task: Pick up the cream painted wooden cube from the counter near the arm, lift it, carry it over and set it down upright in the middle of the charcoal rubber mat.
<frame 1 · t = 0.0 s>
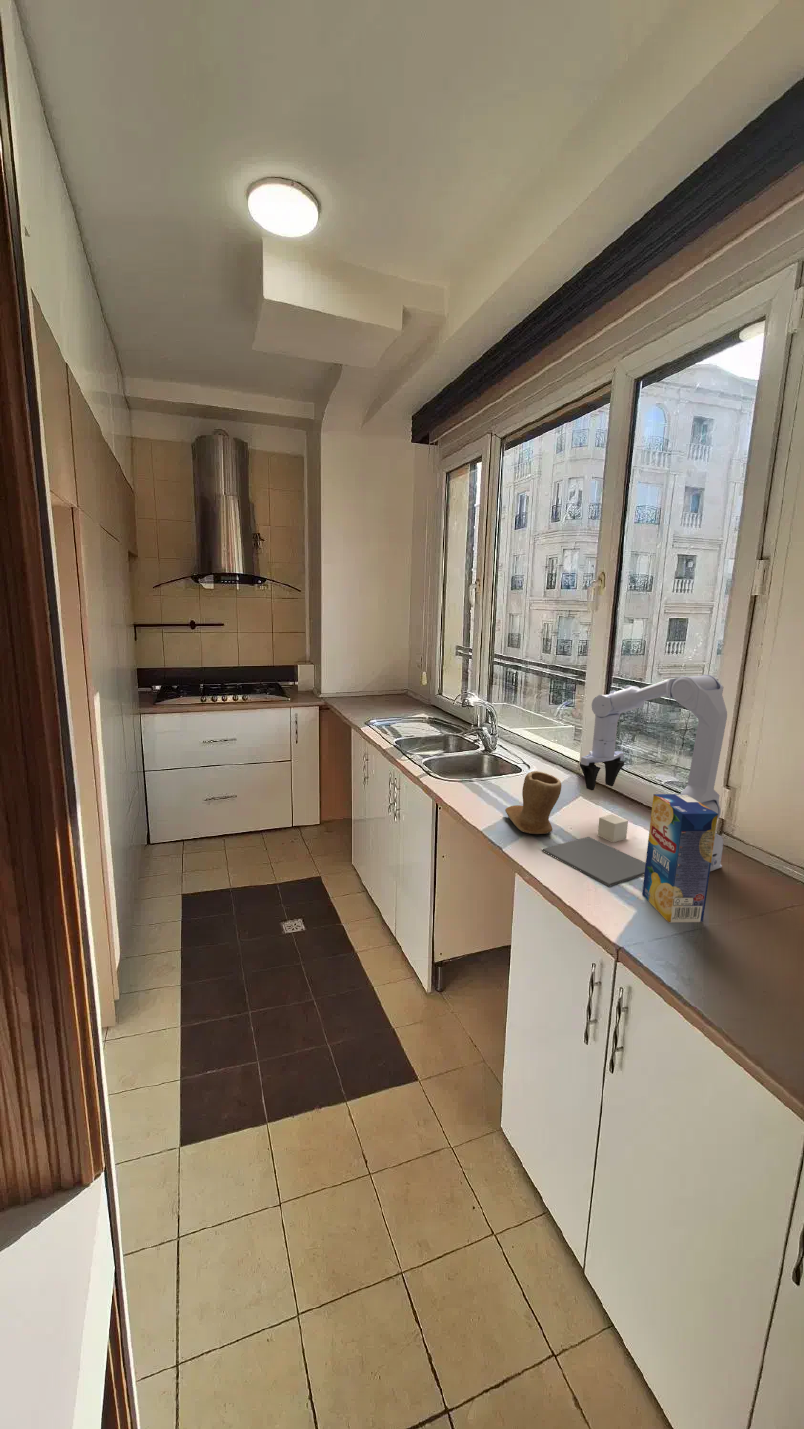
hand: (599, 787, 160), 10 cm above the countertop, tool pointing down, fingers open, 7 cm apart
charcoal mat: (597, 860, 138), on the countertop
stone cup: (532, 827, 158), on the countertop
beverage box: (671, 908, 118), on the countertop
cream cube: (611, 837, 152), on the countertop
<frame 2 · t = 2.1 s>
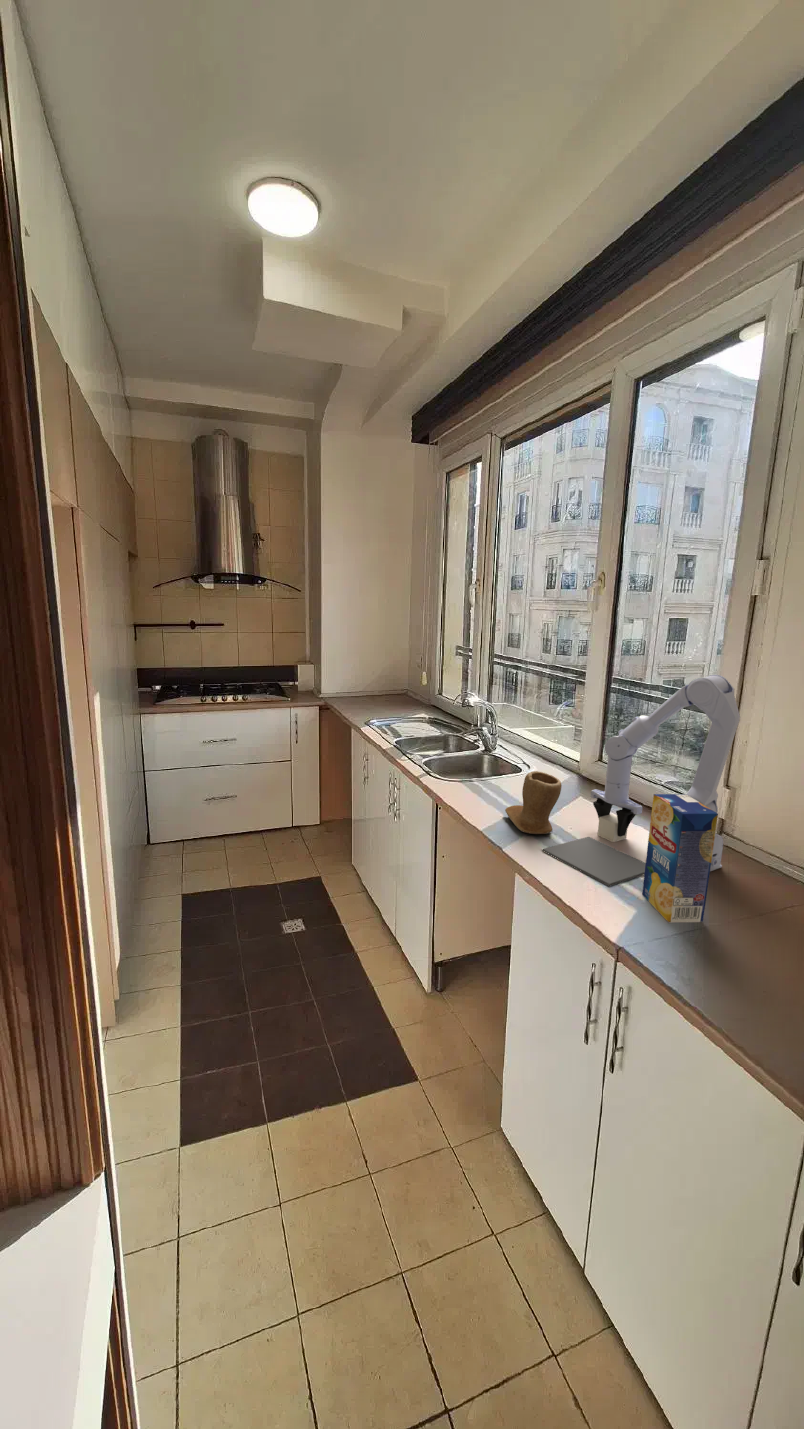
hand: (612, 831, 152), 1 cm above the countertop, tool pointing down, fingers closed on cream cube, 5 cm apart
cream cube: (611, 836, 152), on the countertop, touching gripper
everything else where it was.
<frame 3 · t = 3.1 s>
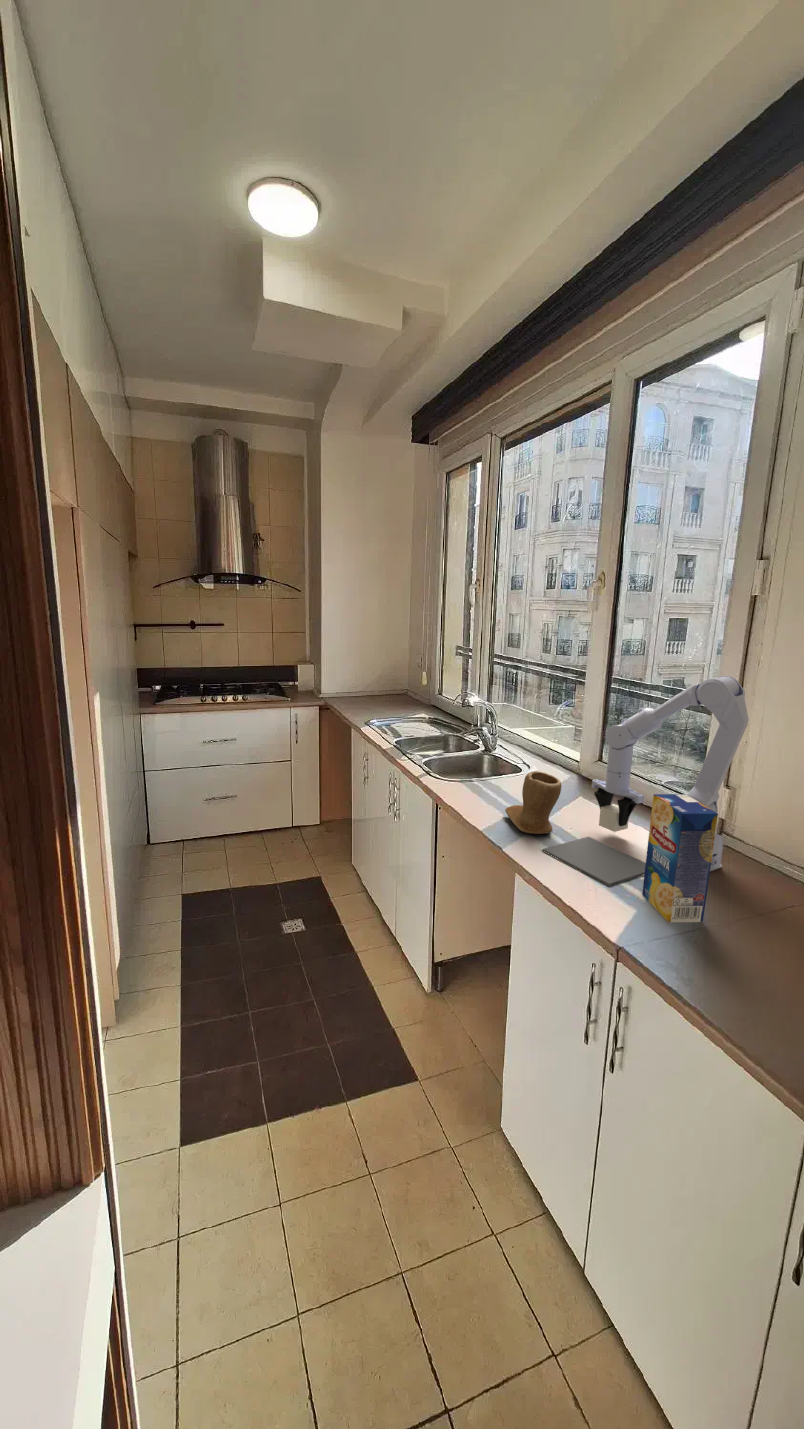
hand: (613, 821, 151), 4 cm above the countertop, tool pointing down, fingers closed on cream cube, 5 cm apart
cream cube: (613, 826, 152), point 3 cm above the countertop, touching gripper
everything else where it was.
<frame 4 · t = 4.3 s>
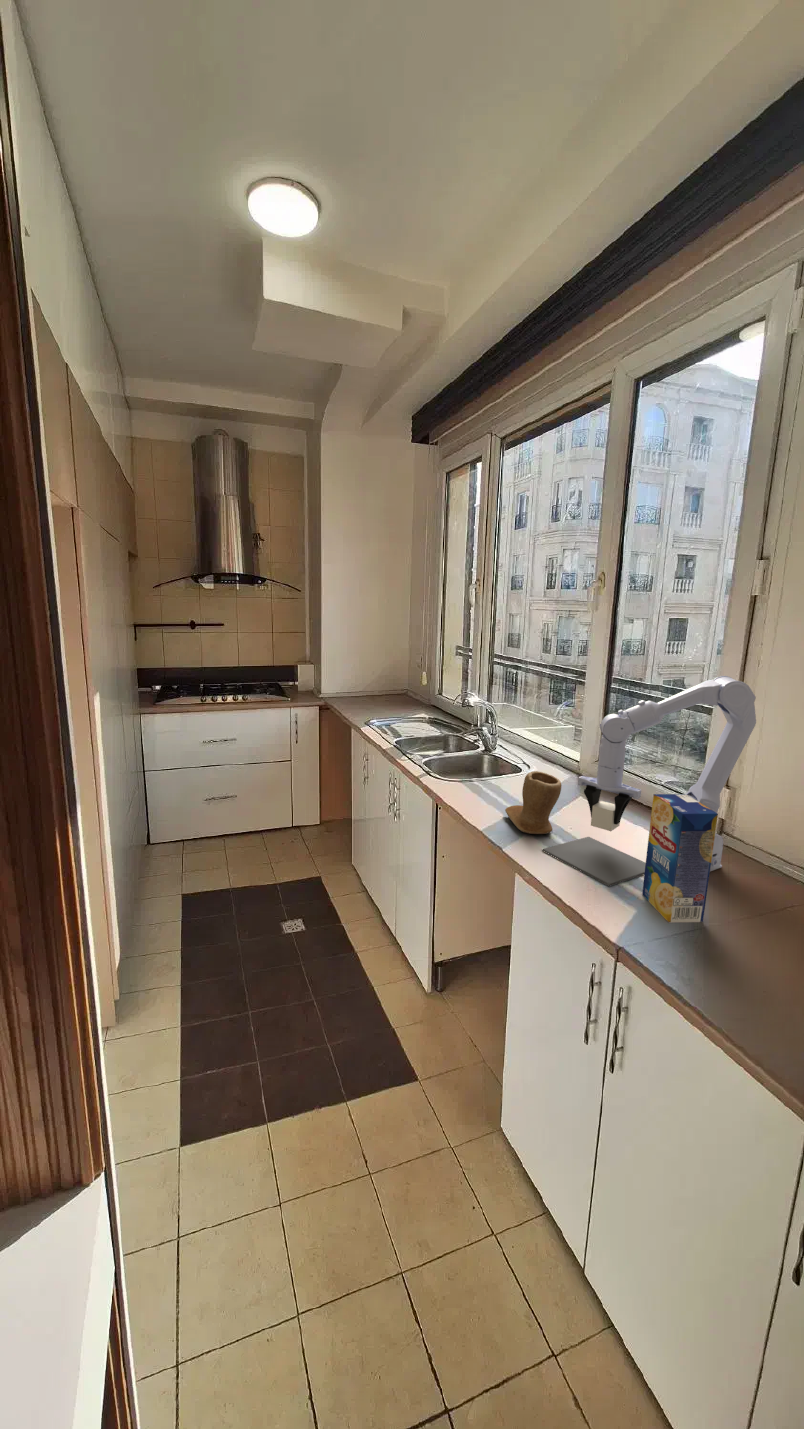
hand: (605, 819, 141), 8 cm above the countertop, tool pointing down, fingers closed on cream cube, 5 cm apart
cream cube: (605, 825, 141), point 7 cm above the countertop, touching gripper
everything else where it was.
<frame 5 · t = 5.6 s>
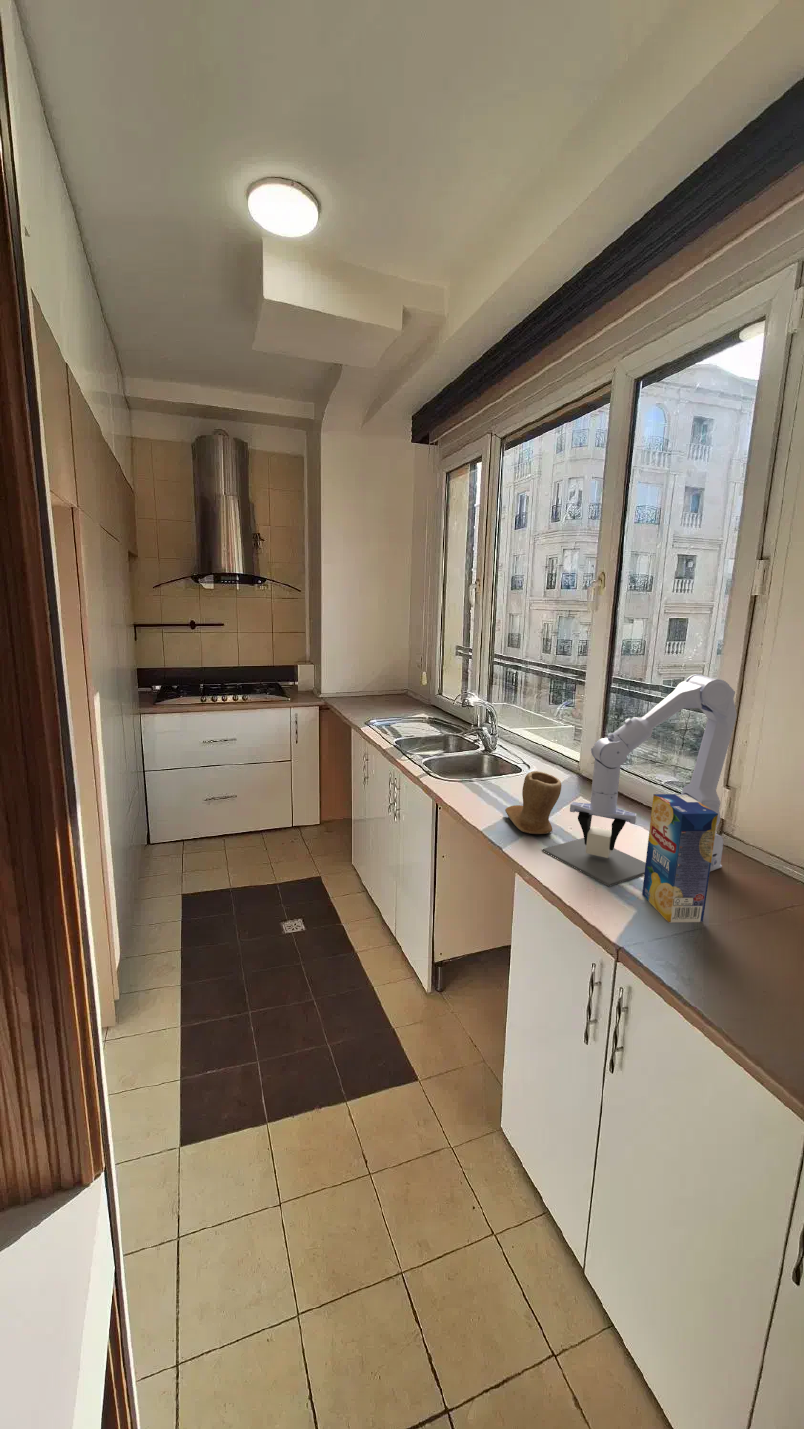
hand: (599, 845, 137), 4 cm above the countertop, tool pointing down, fingers closed on cream cube, 5 cm apart
cream cube: (598, 851, 138), point 2 cm above the countertop, touching gripper
everything else where it was.
when the fingers open (4 cm above the countertop, at t = 6.5 s): cream cube drops 1 cm, resting on charcoal mat.
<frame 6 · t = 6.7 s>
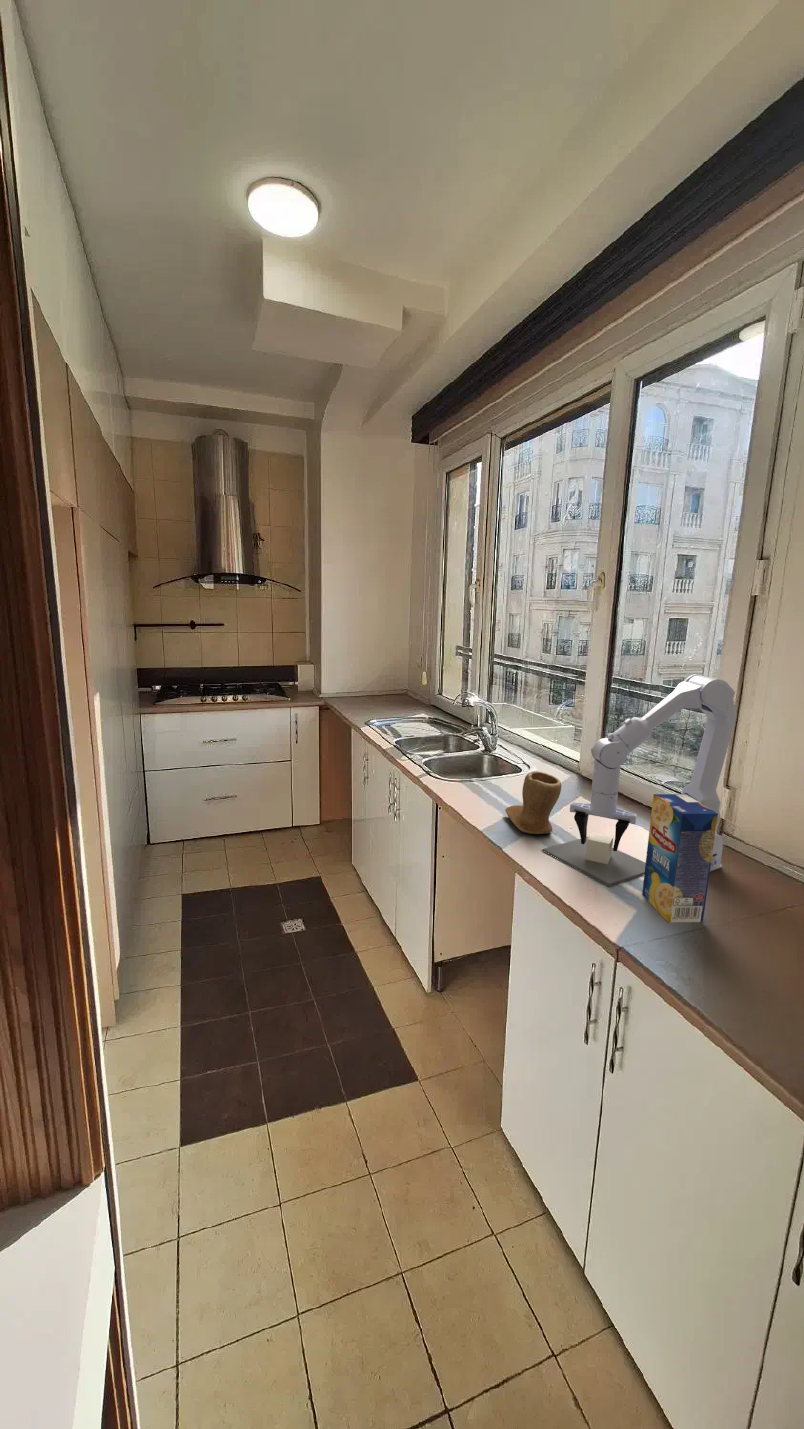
hand: (599, 846, 137), 4 cm above the countertop, tool pointing down, fingers open, 7 cm apart
cream cube: (598, 857, 138), point 1 cm above the countertop, touching charcoal mat
everything else where it was.
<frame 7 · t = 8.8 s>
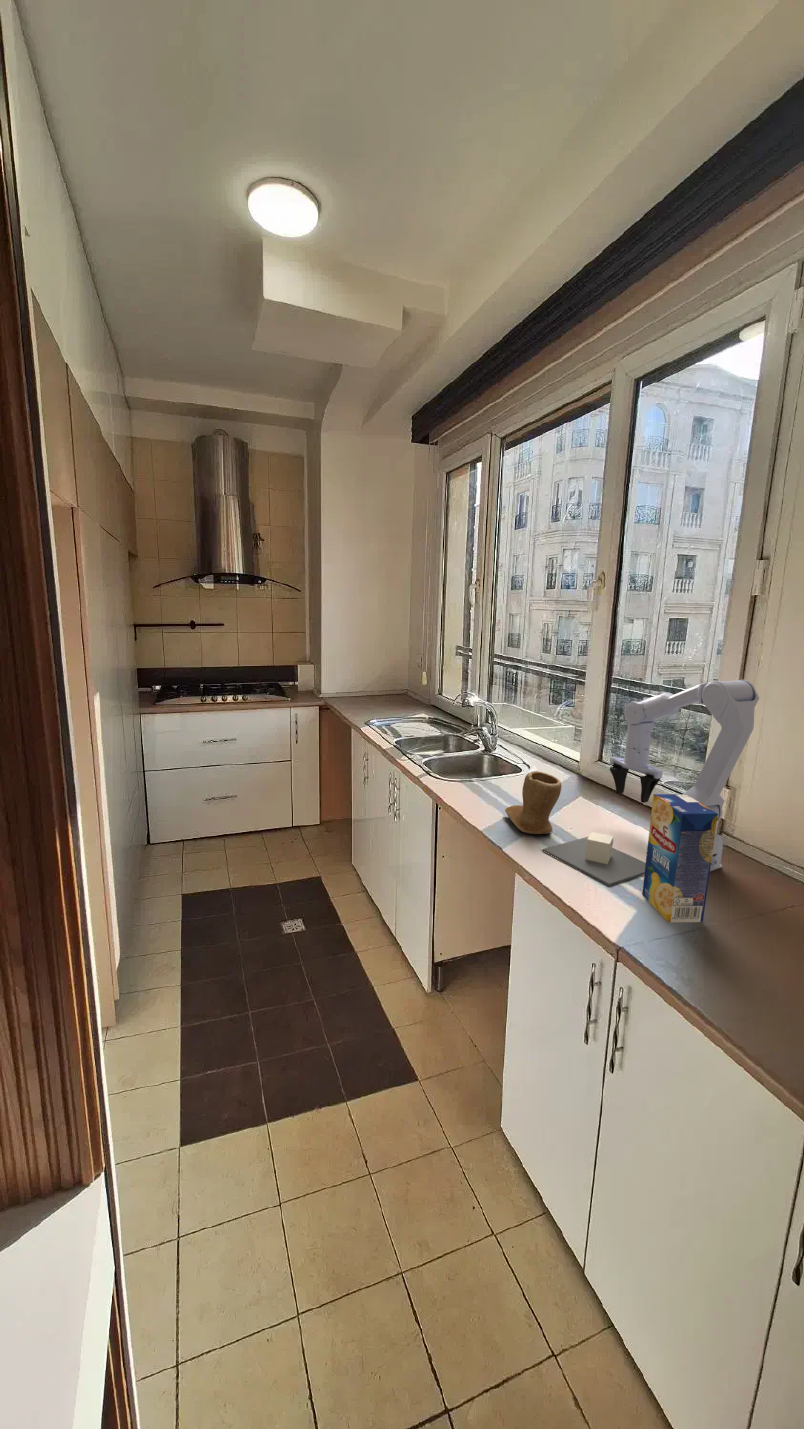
hand: (631, 797, 154), 9 cm above the countertop, tool pointing down, fingers open, 7 cm apart
nothing on the countertop moved.
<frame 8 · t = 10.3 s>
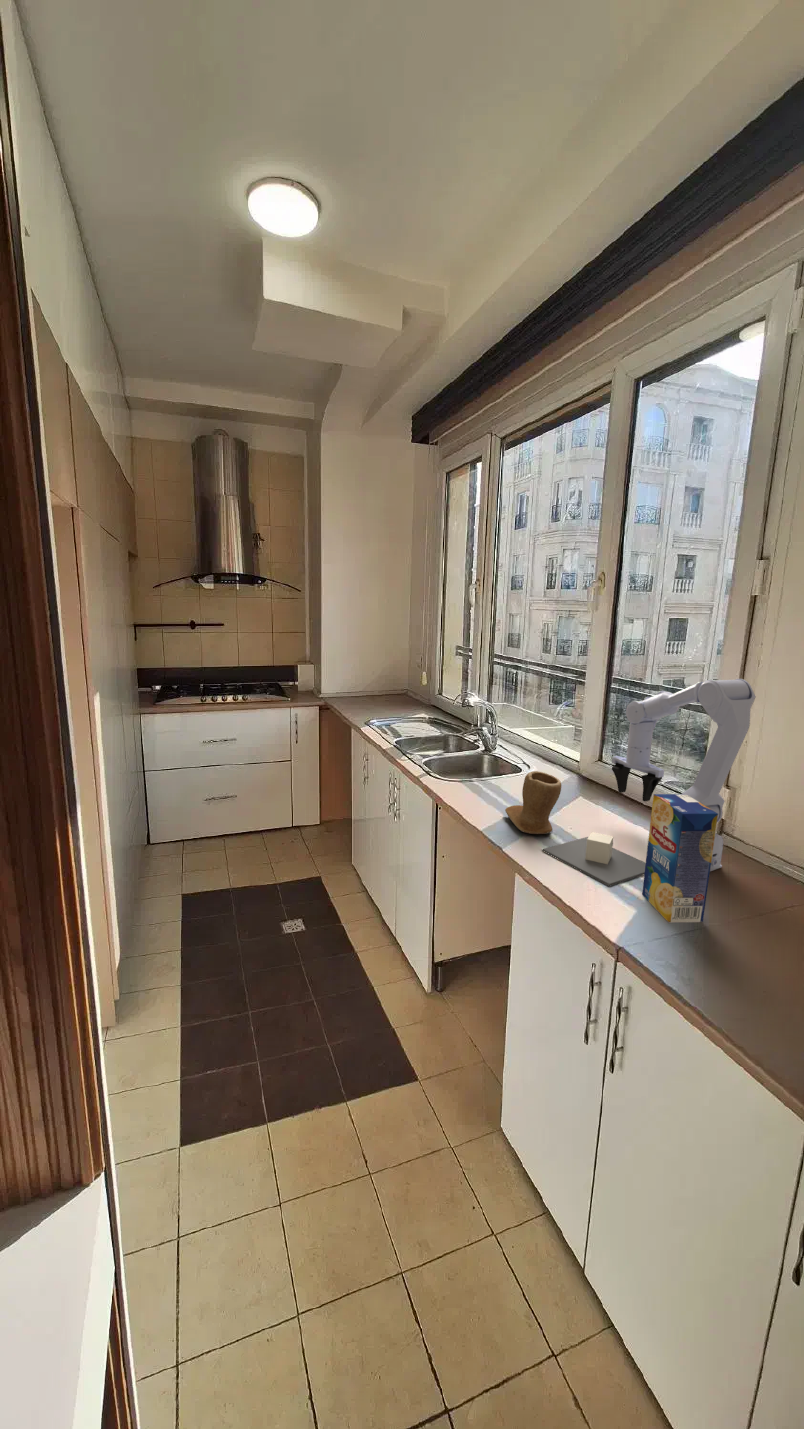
hand: (633, 796, 156), 9 cm above the countertop, tool pointing down, fingers open, 7 cm apart
nothing on the countertop moved.
at the end: cream cube inside the target area on the charcoal mat (0.2 cm from its centre), point 0.6 cm above the charcoal mat's base; cream cube tilted 0°; the gripper is holding nothing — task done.
